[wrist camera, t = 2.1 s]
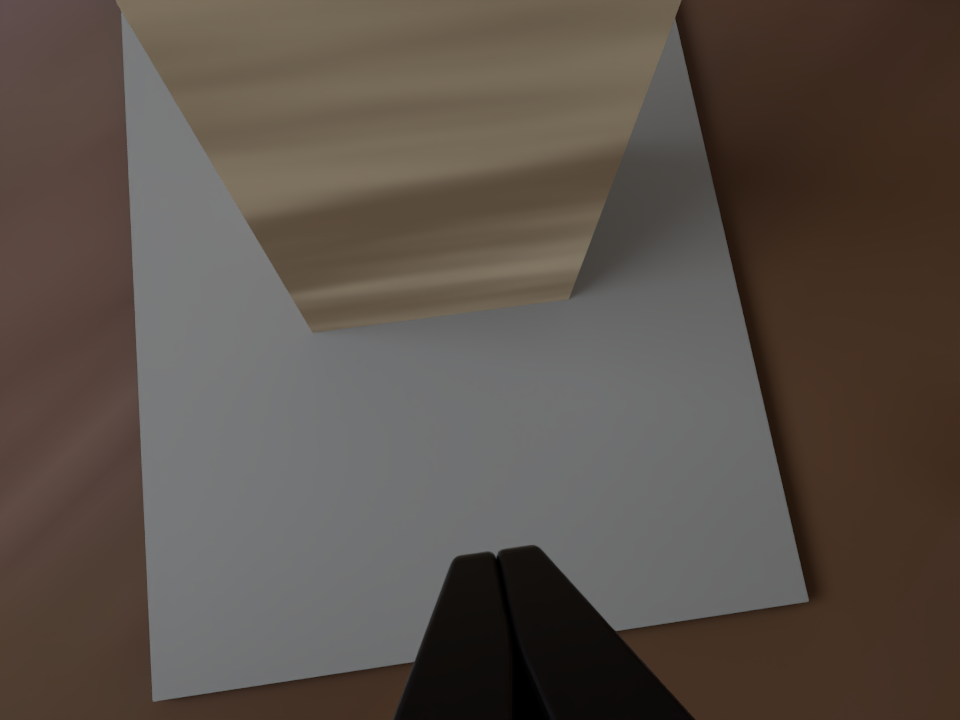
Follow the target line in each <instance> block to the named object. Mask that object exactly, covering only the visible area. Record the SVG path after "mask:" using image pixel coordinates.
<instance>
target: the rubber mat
mask: <svg viewBox="0 0 960 720" xmlns="http://www.w3.org/2000/svg"><path fill="white" fill-rule="evenodd" d="M121 17H122V39H123V61H124V83H125V105H126V127H127V149H128V171H129V193H130V215H131V237H132V259H133V281H134V302H135V324H136V346H137V368H138V390H139V412H140V434H141V456H142V478H143V500H144V522H145V544H146V566H147V588H148V610H149V632H150V654H151V676H152V698H153V702H154V701H160V700H167V699H173V698H180V697H187V696H193V695H200V694H206V693H213V692H219V691H226V690H232V689H239V688H246V687H252V686H259V685H265V684H272V683H278V682H285V681H291V680H298V679H305V678H311V677H318V676H324V675H331V674H337V673H344V672H351V671H357V670H364V669H370V668H377V667H383V666H390V665H396V664H403V663H410V662H414V661H415V658H416V656H417V653H418V650H419V647H420V645H421V642H422V639H423V637H424V634H425V631H426V629H427V626H428V623H429V620H430V618H431V615H432V612H433V610H434V607H435V604H436V602H437V599H438V596H439V594H440V591H441V588H442V585H443V583H444V580H445V577H446V575H447V572H448V569H449V567H450V564H451V562H452V560H453V559H454V558H455V557H456V556H459V555H465V554H472V553H479V552H486V551H490V552H492V553H494V555H495V556H496V558H497V553H498V552H499V551H500V550H502V549H506V548H513V547H520V546H527V545H536V546H538V547H540V548H541V549H542V550H543V551H544V552H545V554H546V555H547V556H548V557H549V558H550V559H551V560H552V561H553V562H554V564H555V565H556V566H557V567H558V568H559V569H560V570H561V571H562V572H563V573H564V575H565V576H566V577H567V578H568V579H569V580H570V581H571V582H572V583H573V585H574V586H575V587H576V588H577V589H578V590H579V591H580V592H581V593H582V595H583V596H584V597H585V598H586V599H587V600H588V601H589V602H590V603H591V605H592V606H593V607H594V608H595V609H596V610H597V611H598V612H599V613H600V614H601V616H602V617H603V618H604V619H605V620H606V621H607V622H608V623H609V624H610V626H611V627H612V628H613V629H614V630H615V631H619V630H626V629H632V628H639V627H646V626H652V625H659V624H665V623H672V622H678V621H685V620H692V619H698V618H705V617H711V616H718V615H724V614H731V613H737V612H744V611H751V610H757V609H764V608H770V607H777V606H783V605H790V604H796V603H803V602H809V599H808V595H807V590H806V586H805V582H804V577H803V573H802V569H801V564H800V560H799V556H798V551H797V547H796V542H795V538H794V534H793V529H792V525H791V521H790V516H789V512H788V508H787V503H786V499H785V495H784V490H783V486H782V481H781V477H780V473H779V468H778V464H777V460H776V455H775V451H774V447H773V442H772V438H771V434H770V429H769V425H768V420H767V416H766V412H765V407H764V403H763V399H762V394H761V390H760V386H759V381H758V377H757V373H756V368H755V364H754V359H753V355H752V351H751V346H750V342H749V338H748V333H747V329H746V325H745V320H744V316H743V311H742V307H741V303H740V298H739V294H738V290H737V285H736V281H735V277H734V272H733V268H732V264H731V259H730V255H729V250H728V246H727V242H726V237H725V233H724V229H723V224H722V220H721V216H720V211H719V207H718V203H717V198H716V194H715V189H714V185H713V181H712V176H711V172H710V168H709V163H708V159H707V155H706V150H705V146H704V142H703V137H702V133H701V128H700V124H699V120H698V115H697V111H696V107H695V102H694V98H693V94H692V89H691V85H690V81H689V76H688V72H687V67H686V63H685V59H684V54H683V50H682V46H681V41H680V37H679V33H678V28H677V24H676V20H675V19H674V22H673V24H672V27H671V30H670V32H669V35H668V38H667V40H666V43H665V46H664V48H663V51H662V54H661V56H660V59H659V61H658V64H657V67H656V69H655V72H654V75H653V77H652V80H651V83H650V85H649V88H648V91H647V93H646V96H645V99H644V101H643V104H642V107H641V109H640V112H639V114H638V117H637V120H636V122H635V125H634V128H633V130H632V133H631V136H630V138H629V141H628V144H627V146H626V149H625V152H624V154H623V157H622V159H621V162H620V165H619V167H618V170H617V173H616V175H615V178H614V181H613V183H612V186H611V189H610V191H609V194H608V197H607V199H606V202H605V205H604V207H603V210H602V212H601V215H600V218H599V220H598V223H597V226H596V228H595V231H594V234H593V236H592V239H591V242H590V244H589V247H588V250H587V252H586V255H585V257H584V260H583V263H582V265H581V268H580V271H579V273H578V276H577V279H576V281H575V284H574V287H573V289H572V292H571V295H570V297H569V299H568V300H560V301H552V302H545V303H537V304H529V305H522V306H514V307H506V308H499V309H491V310H483V311H476V312H468V313H460V314H453V315H445V316H437V317H430V318H422V319H414V320H407V321H399V322H391V323H384V324H376V325H368V326H360V327H353V328H345V329H337V330H330V331H322V332H314V333H312V331H311V329H310V328H309V326H308V324H307V323H306V321H305V319H304V318H303V316H302V314H301V312H300V311H299V309H298V307H297V306H296V304H295V302H294V301H293V299H292V297H291V296H290V294H289V292H288V291H287V289H286V287H285V286H284V284H283V282H282V280H281V279H280V277H279V275H278V274H277V272H276V270H275V269H274V267H273V265H272V264H271V262H270V260H269V259H268V257H267V255H266V254H265V252H264V250H263V248H262V247H261V245H260V243H259V242H258V240H257V238H256V237H255V235H254V233H253V232H252V230H251V228H250V227H249V225H248V223H247V222H246V220H245V218H244V216H243V215H242V213H241V211H240V210H239V208H238V206H237V205H236V203H235V201H234V200H233V198H232V196H231V195H230V193H229V191H228V189H227V188H226V186H225V184H224V183H223V181H222V179H221V178H220V176H219V174H218V173H217V171H216V169H215V168H214V166H213V164H212V163H211V161H210V159H209V157H208V156H207V154H206V152H205V151H204V149H203V147H202V146H201V144H200V142H199V141H198V139H197V137H196V136H195V134H194V132H193V131H192V129H191V127H190V125H189V124H188V122H187V120H186V119H185V117H184V115H183V114H182V112H181V110H180V109H179V107H178V105H177V104H176V102H175V100H174V99H173V97H172V95H171V93H170V92H169V90H168V88H167V87H166V85H165V83H164V82H163V80H162V78H161V77H160V75H159V73H158V72H157V70H156V68H155V67H154V65H153V63H152V61H151V60H150V58H149V56H148V55H147V53H146V51H145V50H144V48H143V46H142V45H141V43H140V41H139V40H138V38H137V36H136V35H135V33H134V31H133V29H132V28H131V26H130V24H129V23H128V21H127V19H126V18H125V16H124V14H123V13H122V11H121Z"/></svg>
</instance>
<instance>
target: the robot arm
mask: <svg viewBox="0 0 960 720" xmlns="http://www.w3.org/2000/svg"><path fill="white" fill-rule="evenodd" d="M393 720H695V719H694V718H693V716H692V715H691V714H690V713H689V712H688V711H687V710H686V709H685V708H684V706H683V705H682V704H681V703H680V702H679V701H678V700H677V699H676V698H675V696H674V695H673V694H672V693H671V692H670V691H669V690H668V689H667V688H666V687H665V685H664V684H663V683H662V682H661V681H660V680H659V679H658V678H657V677H656V675H655V674H654V673H653V672H652V671H651V670H650V669H649V668H648V667H647V665H646V664H645V663H644V662H643V661H642V660H641V659H640V658H639V657H638V655H637V654H636V653H635V652H634V651H633V650H632V649H631V648H630V647H629V646H628V644H627V643H626V642H625V641H624V640H623V639H622V638H621V637H620V636H619V634H618V633H617V632H616V631H615V630H614V629H613V628H612V627H611V626H610V624H609V623H608V622H607V621H606V620H605V619H604V618H603V617H602V616H601V614H600V613H599V612H598V611H597V610H596V609H595V608H594V607H593V606H592V605H591V603H590V602H589V601H588V600H587V599H586V598H585V597H584V596H583V595H582V593H581V592H580V591H579V590H578V589H577V588H576V587H575V586H574V585H573V583H572V582H571V581H570V580H569V579H568V578H567V577H566V576H565V575H564V573H563V572H562V571H561V570H560V569H559V568H558V567H557V566H556V565H555V564H554V562H553V561H552V560H551V559H550V558H549V557H548V556H547V555H546V554H545V552H544V551H543V550H542V549H541V548H540V547H538V546H536V545H527V546H520V547H513V548H506V549H502V550H500V551H499V552H498V553H497V558H496V556H495V555H494V553H492V552H490V551H486V552H479V553H472V554H465V555H459V556H456V557H455V558H454V559H453V560H452V562H451V564H450V567H449V569H448V572H447V575H446V577H445V580H444V583H443V585H442V588H441V591H440V594H439V596H438V599H437V602H436V604H435V607H434V610H433V612H432V615H431V618H430V620H429V623H428V626H427V629H426V631H425V634H424V637H423V639H422V642H421V645H420V647H419V650H418V653H417V656H416V658H415V661H414V664H413V666H412V669H411V672H410V674H409V677H408V680H407V683H406V685H405V688H404V691H403V693H402V696H401V699H400V701H399V704H398V707H397V709H396V712H395V715H394V718H393Z"/></svg>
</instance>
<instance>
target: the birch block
mask: <svg viewBox="0 0 960 720" xmlns="http://www.w3.org/2000/svg"><path fill="white" fill-rule="evenodd" d="M115 1H116V3H117V4H118V6H119V8H120V9H121V11H122V13H123V14H124V16H125V18H126V19H127V21H128V23H129V24H130V26H131V28H132V29H133V31H134V33H135V35H136V36H137V38H138V40H139V41H140V43H141V45H142V46H143V48H144V50H145V51H146V53H147V55H148V56H149V58H150V60H151V61H152V63H153V65H154V67H155V68H156V70H157V72H158V73H159V75H160V77H161V78H162V80H163V82H164V83H165V85H166V87H167V88H168V90H169V92H170V93H171V95H172V97H173V99H174V100H175V102H176V104H177V105H178V107H179V109H180V110H181V112H182V114H183V115H184V117H185V119H186V120H187V122H188V124H189V125H190V127H191V129H192V131H193V132H194V134H195V136H196V137H197V139H198V141H199V142H200V144H201V146H202V147H203V149H204V151H205V152H206V154H207V156H208V157H209V159H210V161H211V163H212V164H213V166H214V168H215V169H216V171H217V173H218V174H219V176H220V178H221V179H222V181H223V183H224V184H225V186H226V188H227V189H228V191H229V193H230V195H231V196H232V198H233V200H234V201H235V203H236V205H237V206H238V208H239V210H240V211H241V213H242V215H243V216H244V218H245V220H246V222H247V223H248V225H249V227H250V228H251V230H252V232H253V233H254V235H255V237H256V238H257V240H258V242H259V243H260V245H261V247H262V248H263V250H264V252H265V254H266V255H267V257H268V259H269V260H270V262H271V264H272V265H273V267H274V269H275V270H276V272H277V274H278V275H279V277H280V279H281V280H282V282H283V284H284V286H285V287H286V289H287V291H288V292H289V294H290V296H291V297H292V299H293V301H294V302H295V304H296V306H297V307H298V309H299V311H300V312H301V314H302V316H303V318H304V319H305V321H306V323H307V324H308V326H309V328H310V329H311V331H312V333H314V332H322V331H330V330H337V329H345V328H353V327H360V326H368V325H376V324H384V323H391V322H399V321H407V320H414V319H422V318H430V317H437V316H445V315H453V314H460V313H468V312H476V311H483V310H491V309H499V308H506V307H514V306H522V305H529V304H537V303H545V302H552V301H560V300H568V299H569V297H570V295H571V292H572V289H573V287H574V284H575V281H576V279H577V276H578V273H579V271H580V268H581V265H582V263H583V260H584V257H585V255H586V252H587V250H588V247H589V244H590V242H591V239H592V236H593V234H594V231H595V228H596V226H597V223H598V220H599V218H600V215H601V212H602V210H603V207H604V205H605V202H606V199H607V197H608V194H609V191H610V189H611V186H612V183H613V181H614V178H615V175H616V173H617V170H618V167H619V165H620V162H621V159H622V157H623V154H624V152H625V149H626V146H627V144H628V141H629V138H630V136H631V133H632V130H633V128H634V125H635V122H636V120H637V117H638V114H639V112H640V109H641V107H642V104H643V101H644V99H645V96H646V93H647V91H648V88H649V85H650V83H651V80H652V77H653V75H654V72H655V69H656V67H657V64H658V61H659V59H660V56H661V54H662V51H663V48H664V46H665V43H666V40H667V38H668V35H669V32H670V30H671V27H672V24H673V22H674V19H675V16H676V14H677V11H678V9H679V6H680V3H681V1H682V0H115Z"/></svg>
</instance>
